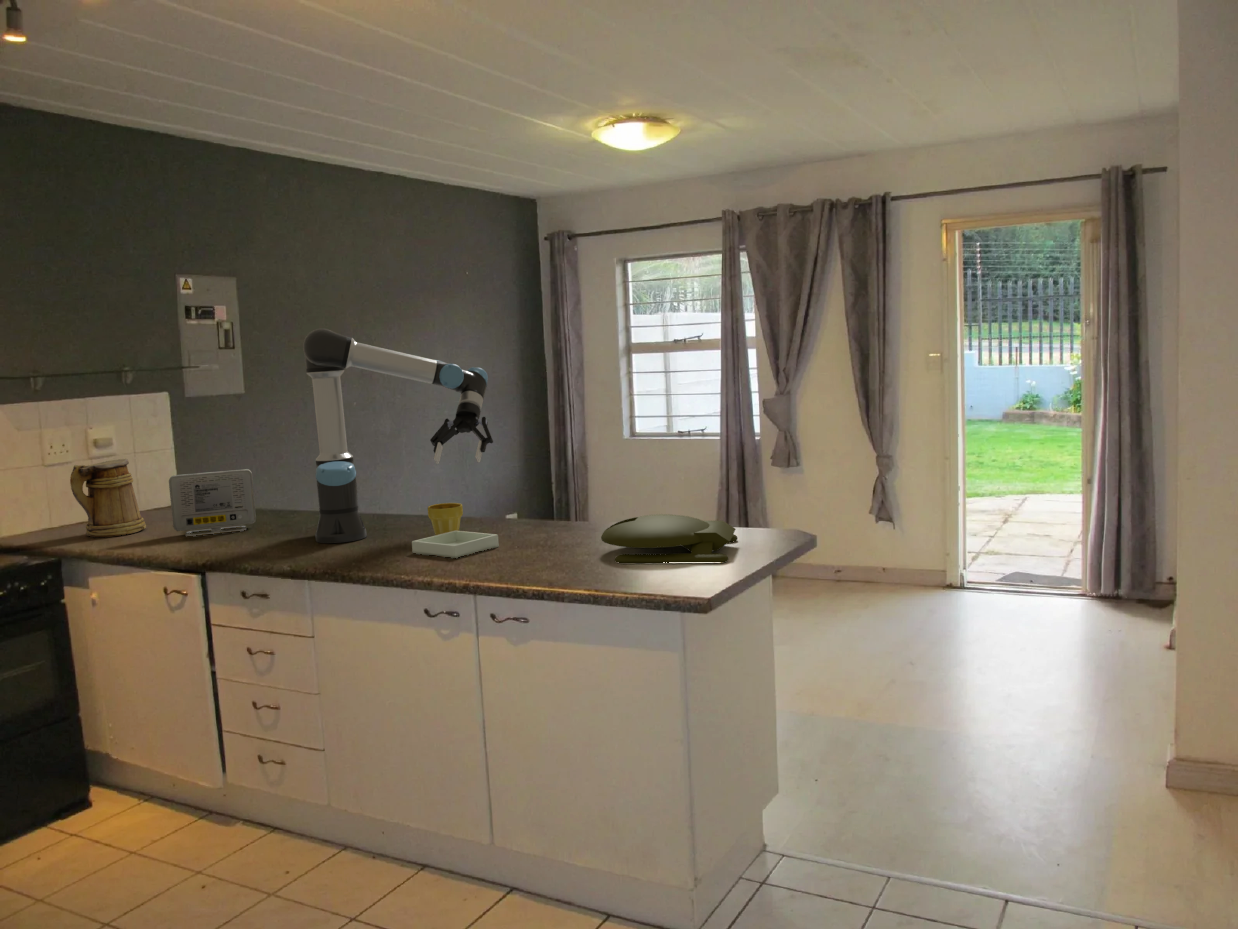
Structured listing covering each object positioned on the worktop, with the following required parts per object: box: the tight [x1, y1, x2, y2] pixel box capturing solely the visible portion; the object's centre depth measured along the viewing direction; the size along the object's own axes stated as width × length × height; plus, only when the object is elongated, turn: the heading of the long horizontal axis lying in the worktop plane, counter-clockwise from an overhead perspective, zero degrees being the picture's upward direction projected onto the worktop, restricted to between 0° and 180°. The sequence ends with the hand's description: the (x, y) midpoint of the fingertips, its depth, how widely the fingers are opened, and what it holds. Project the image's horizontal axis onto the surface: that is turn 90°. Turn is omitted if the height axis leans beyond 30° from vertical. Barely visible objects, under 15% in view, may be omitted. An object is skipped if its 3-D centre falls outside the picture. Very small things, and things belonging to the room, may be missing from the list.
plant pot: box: [427, 502, 464, 536], centre depth 299 cm, size 10×10×10 cm
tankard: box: [69, 458, 147, 538], centre depth 336 cm, size 18×24×25 cm
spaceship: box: [600, 513, 738, 563], centre depth 263 cm, size 35×31×10 cm
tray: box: [411, 530, 500, 559], centre depth 279 cm, size 17×17×4 cm
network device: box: [168, 468, 257, 537], centre depth 330 cm, size 26×9×20 cm, turn 111°
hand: (456, 460), depth 308 cm, fingers open, 13 cm apart
